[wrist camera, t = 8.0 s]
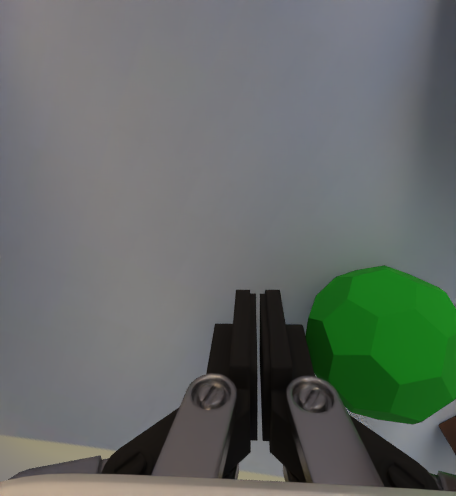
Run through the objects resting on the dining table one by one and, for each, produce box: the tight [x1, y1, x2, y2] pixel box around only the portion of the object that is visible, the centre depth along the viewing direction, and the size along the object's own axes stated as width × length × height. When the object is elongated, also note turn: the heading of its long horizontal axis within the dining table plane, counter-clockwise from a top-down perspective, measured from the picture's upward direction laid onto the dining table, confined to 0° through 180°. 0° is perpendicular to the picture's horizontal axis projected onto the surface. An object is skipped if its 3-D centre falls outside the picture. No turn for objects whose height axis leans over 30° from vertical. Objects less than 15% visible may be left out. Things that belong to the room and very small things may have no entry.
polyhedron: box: [305, 265, 456, 424], centre depth 11 cm, size 5×5×5 cm
